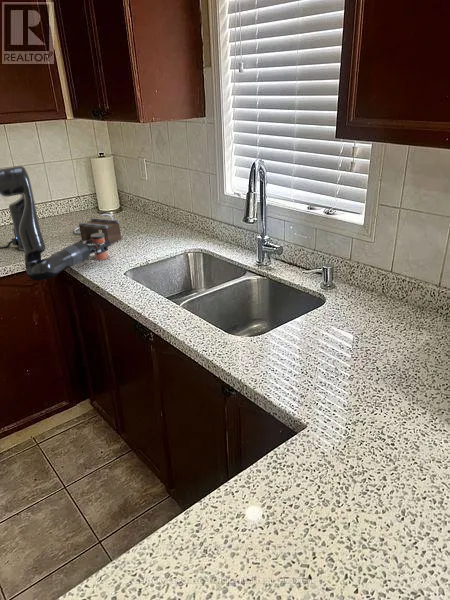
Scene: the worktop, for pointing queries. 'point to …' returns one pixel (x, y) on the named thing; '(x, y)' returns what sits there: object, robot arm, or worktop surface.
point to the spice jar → (99, 239)
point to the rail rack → (107, 227)
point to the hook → (79, 228)
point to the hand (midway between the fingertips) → (101, 241)
